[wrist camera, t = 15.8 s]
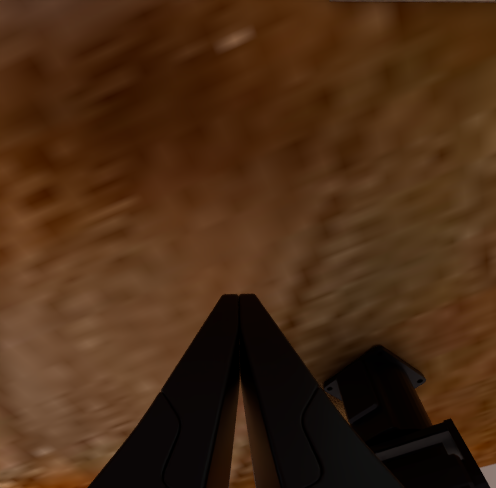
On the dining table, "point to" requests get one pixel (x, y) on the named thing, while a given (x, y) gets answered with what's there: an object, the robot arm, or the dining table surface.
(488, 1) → the box
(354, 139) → the dining table surface
